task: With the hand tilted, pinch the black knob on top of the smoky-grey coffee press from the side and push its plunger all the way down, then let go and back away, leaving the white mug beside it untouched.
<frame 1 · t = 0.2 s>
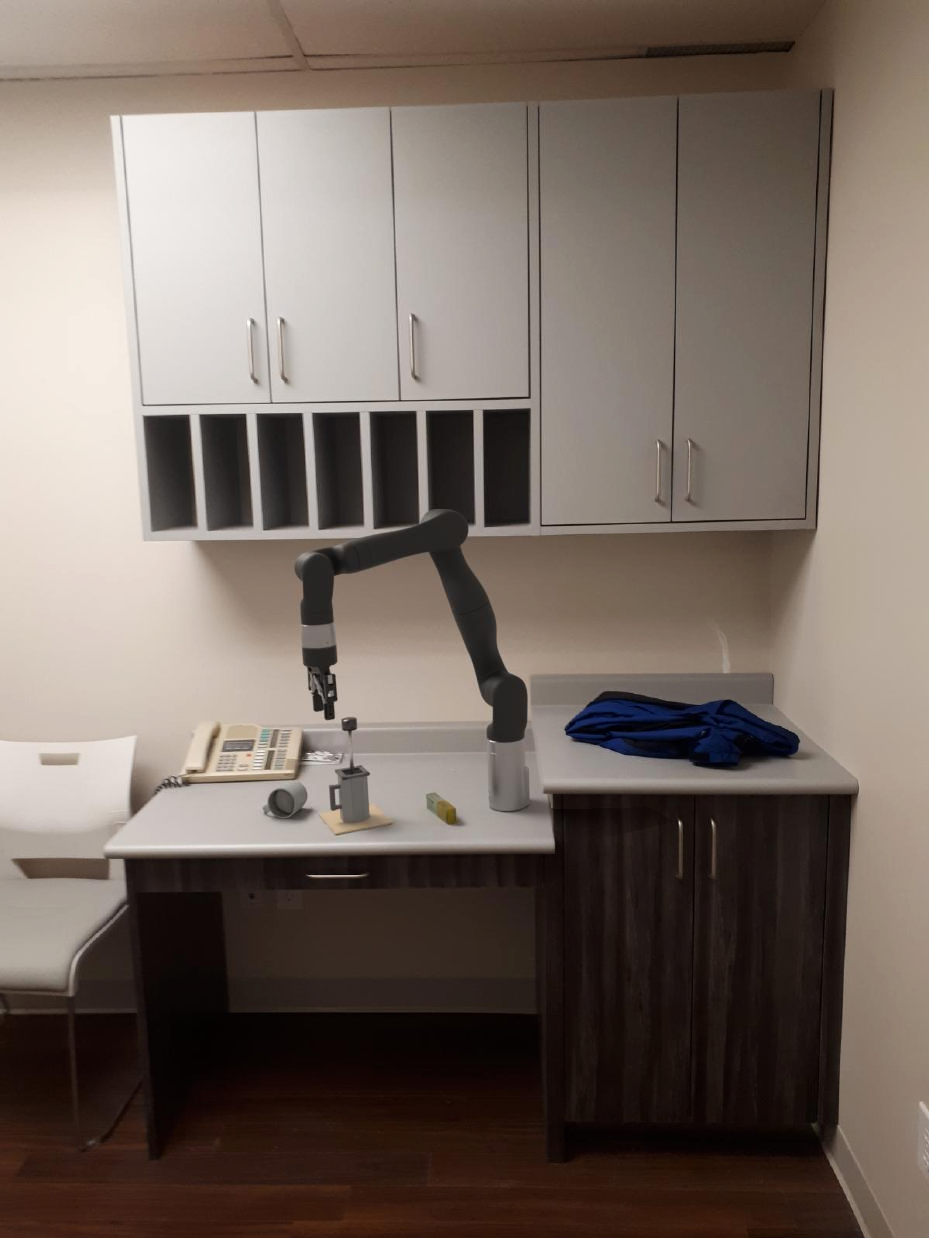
hand: (324, 715, 199), 29 cm above the table, tool pointing down, fingers open, 8 cm apart
plunger: (350, 747, 213), point 18 cm above the table, slide at 7.0 cm
carafe: (355, 819, 216), on the table
ceramic mug: (284, 813, 222), on the table
medication box: (441, 816, 217), on the table
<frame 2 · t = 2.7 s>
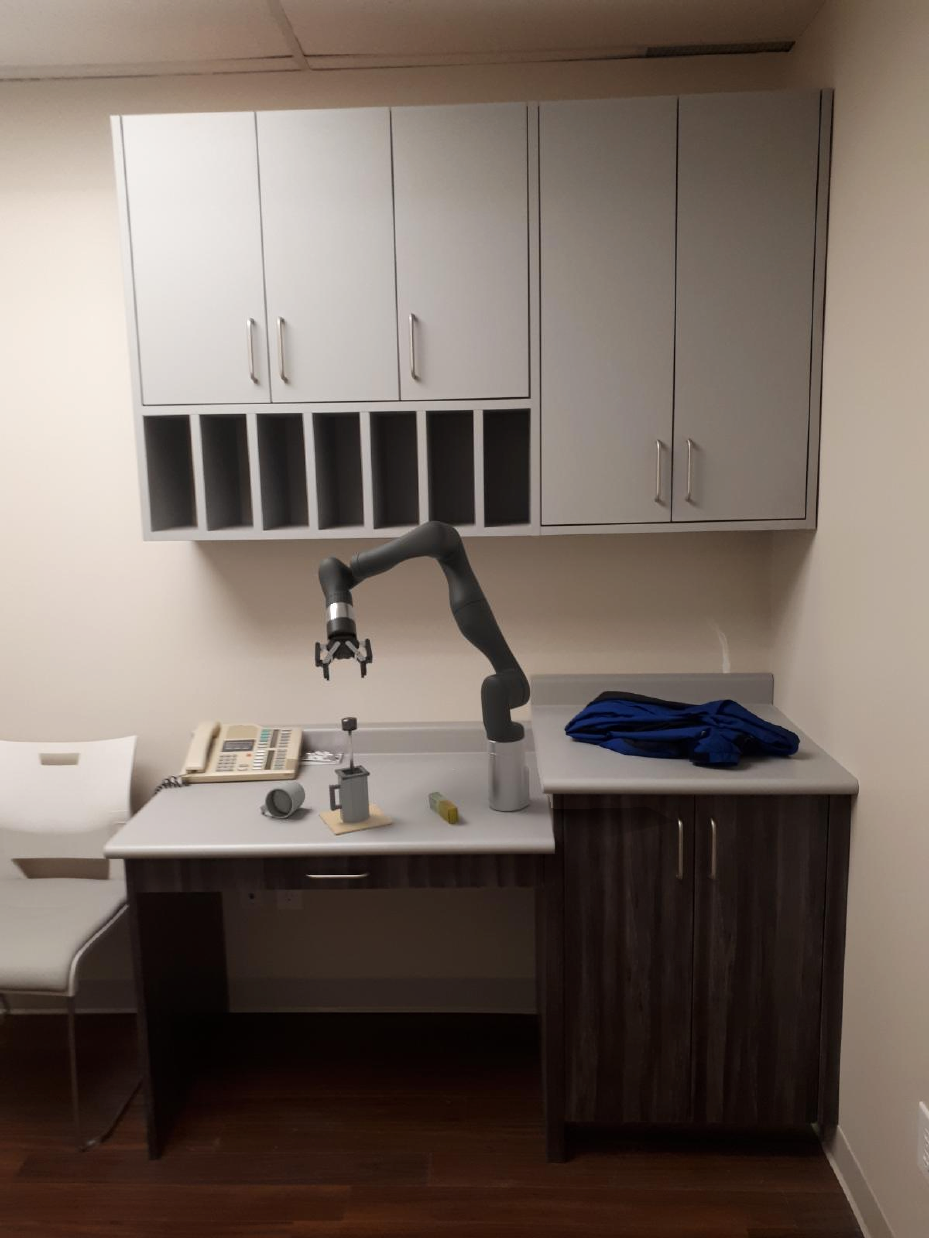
hand: (345, 677, 222), 32 cm above the table, tool tilted 45°, fingers open, 8 cm apart
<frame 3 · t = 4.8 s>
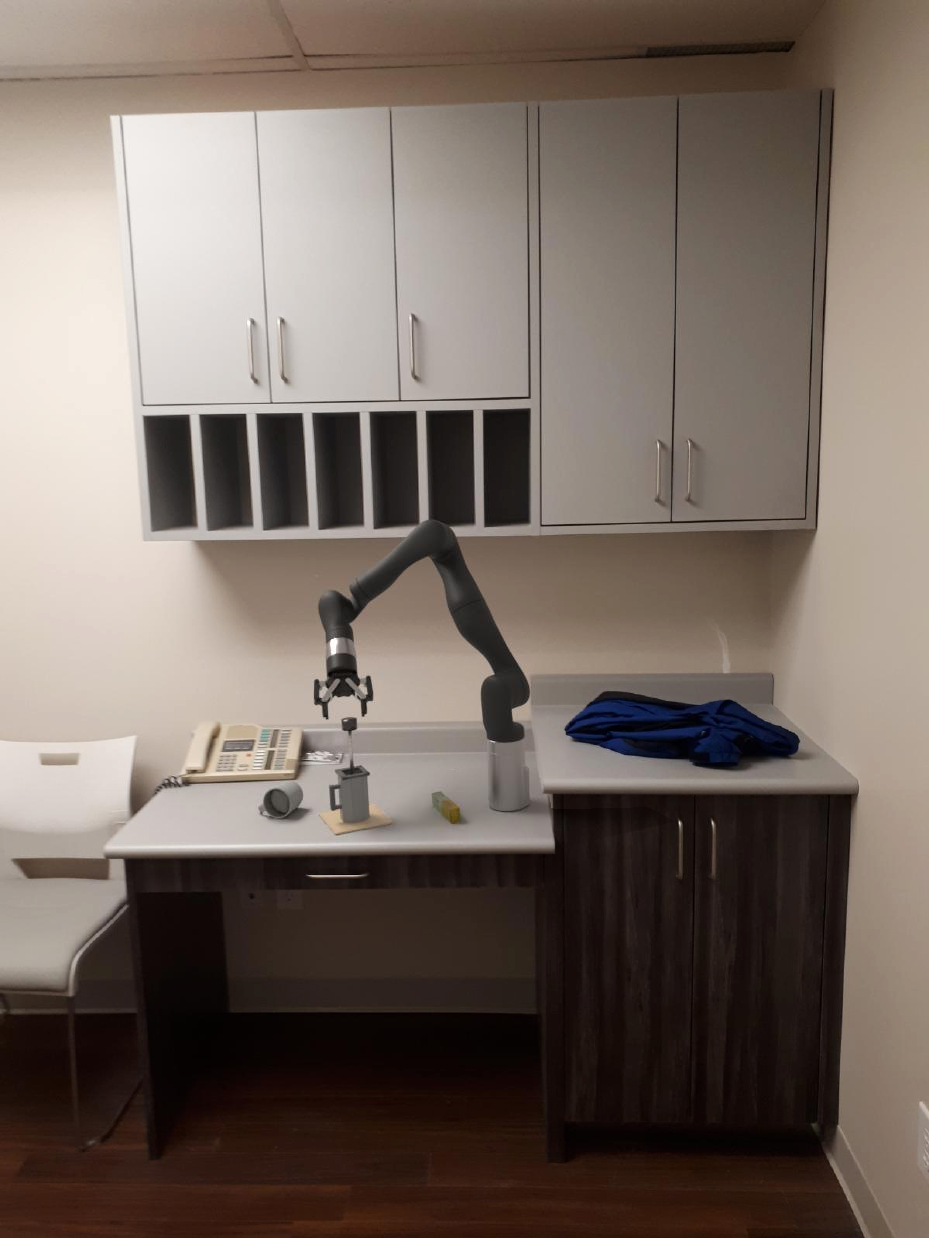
hand: (345, 716, 214), 25 cm above the table, tool tilted 45°, fingers open, 8 cm apart
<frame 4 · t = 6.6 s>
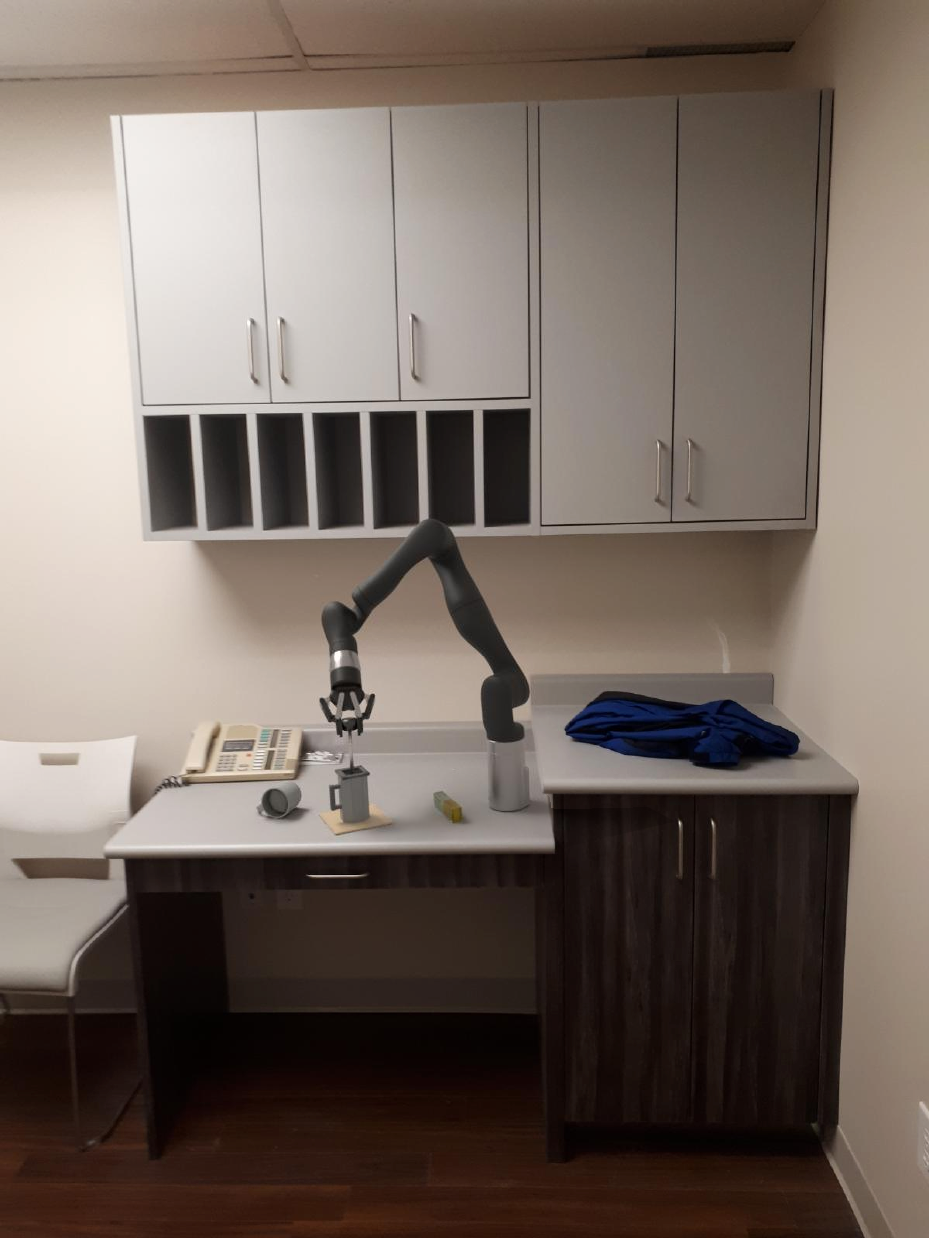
hand: (350, 734, 211), 22 cm above the table, tool tilted 45°, fingers closed on plunger, 3 cm apart
plunger: (350, 747, 213), point 18 cm above the table, slide at 7.0 cm, touching gripper
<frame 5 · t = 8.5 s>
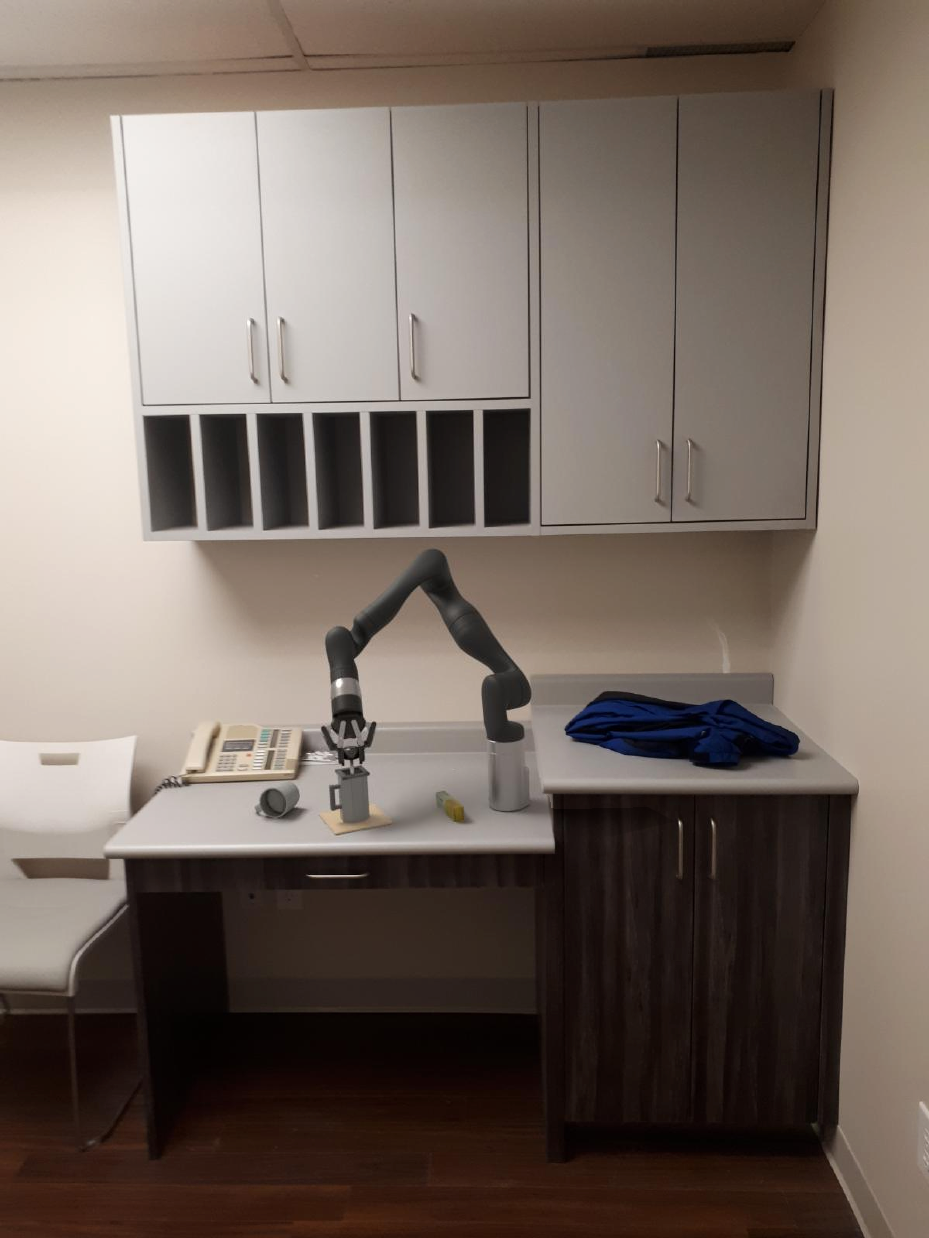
hand: (351, 763, 212), 15 cm above the table, tool tilted 45°, fingers closed on plunger, 3 cm apart
plunger: (352, 775, 214), point 11 cm above the table, slide at -0.1 cm, touching gripper
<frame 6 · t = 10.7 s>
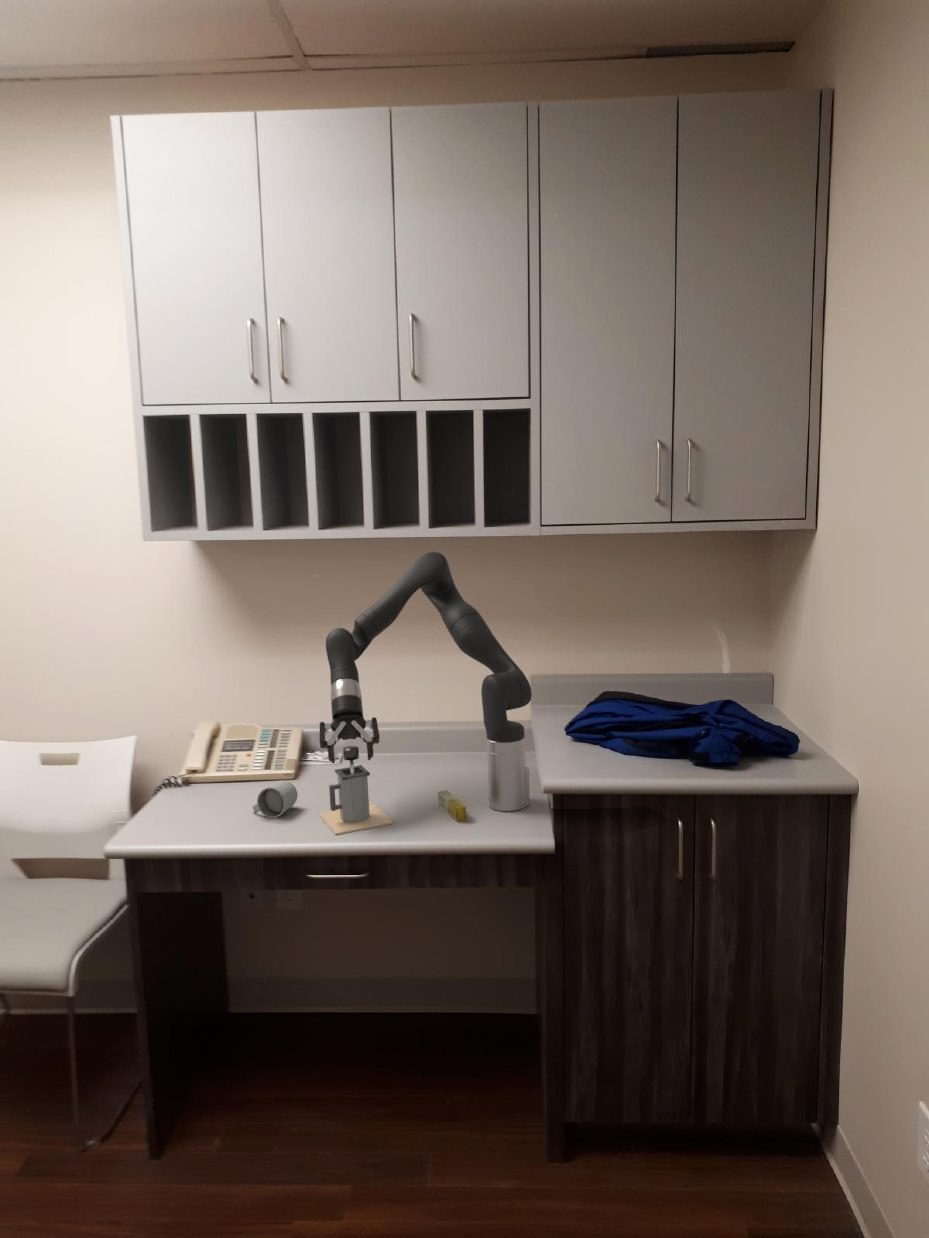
hand: (351, 760, 213), 15 cm above the table, tool tilted 45°, fingers open, 8 cm apart
plunger: (352, 776, 214), point 11 cm above the table, slide at -0.1 cm
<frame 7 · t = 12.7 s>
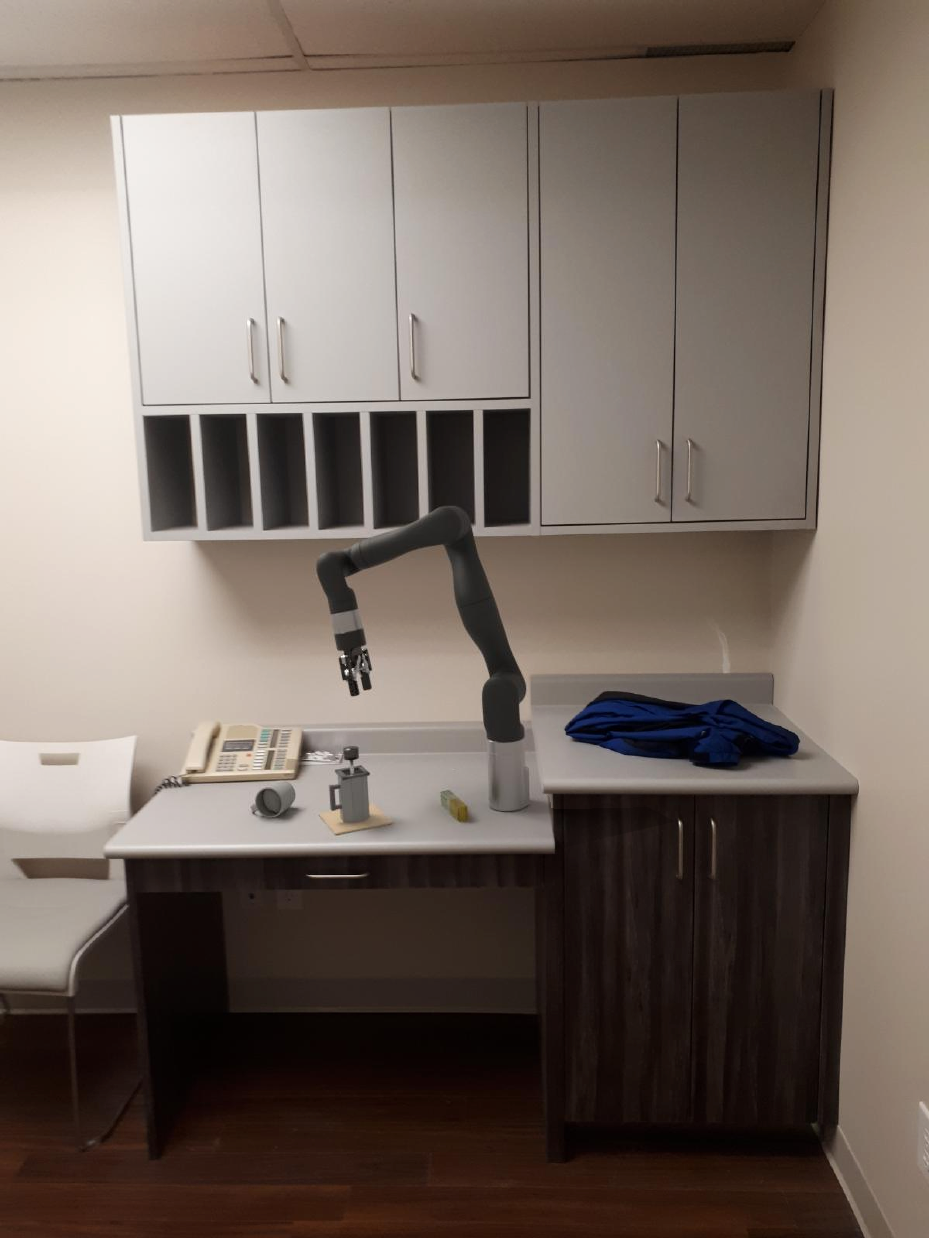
hand: (361, 692, 226), 27 cm above the table, tool pointing down, fingers open, 8 cm apart
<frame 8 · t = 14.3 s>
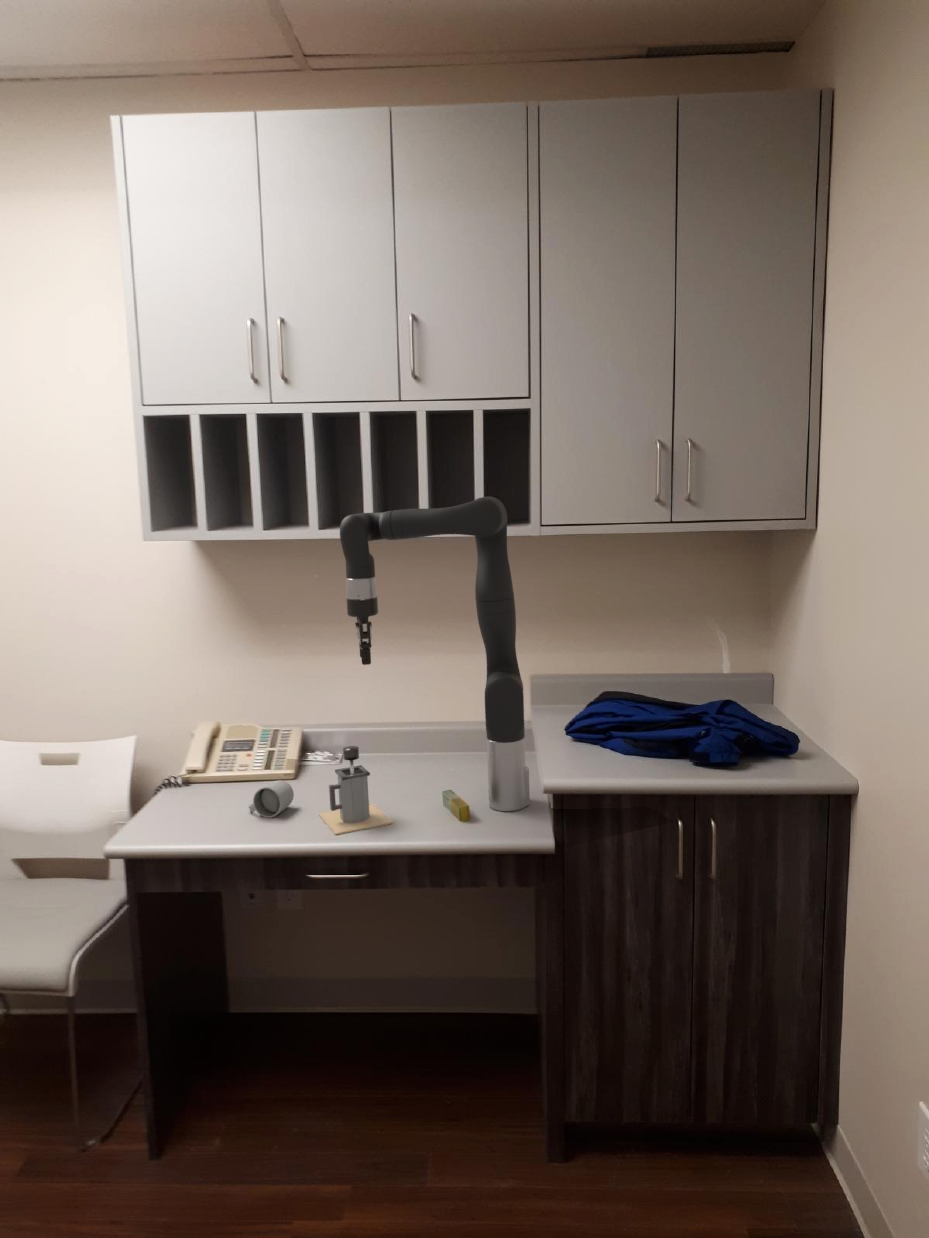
hand: (365, 660, 223), 36 cm above the table, tool pointing down, fingers open, 8 cm apart
at the end: plunger slide at -0.1 cm; the gripper is holding nothing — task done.
